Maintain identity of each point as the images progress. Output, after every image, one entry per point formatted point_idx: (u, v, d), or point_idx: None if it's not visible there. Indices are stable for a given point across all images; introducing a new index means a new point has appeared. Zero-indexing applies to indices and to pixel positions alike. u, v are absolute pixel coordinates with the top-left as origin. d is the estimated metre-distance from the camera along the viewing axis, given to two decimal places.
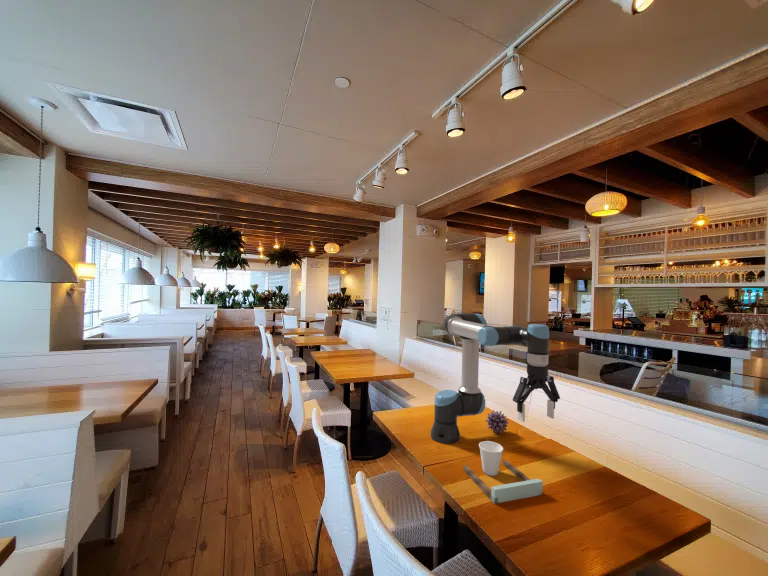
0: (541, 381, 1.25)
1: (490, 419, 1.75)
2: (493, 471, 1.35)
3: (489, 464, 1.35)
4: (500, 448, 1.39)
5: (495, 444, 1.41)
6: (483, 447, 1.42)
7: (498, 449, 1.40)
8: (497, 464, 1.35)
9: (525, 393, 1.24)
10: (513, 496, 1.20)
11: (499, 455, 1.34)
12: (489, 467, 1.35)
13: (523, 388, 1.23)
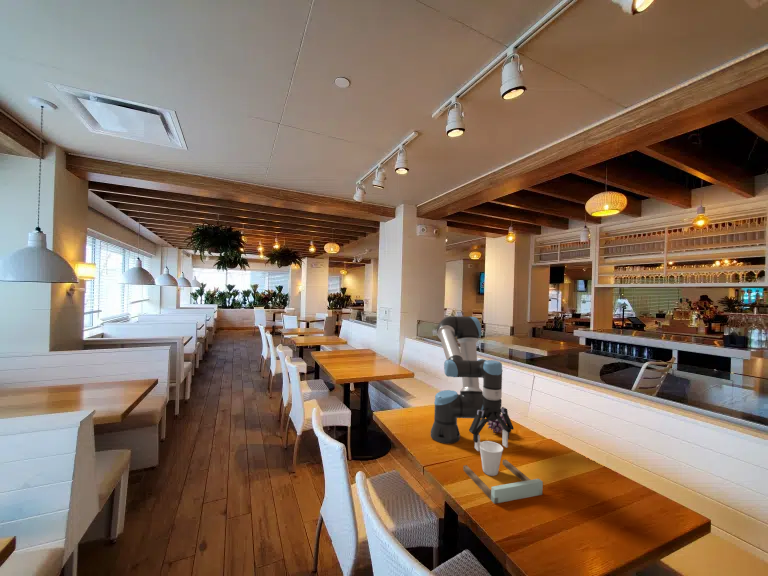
0: (495, 413, 1.36)
1: None
2: (493, 471, 1.35)
3: (489, 464, 1.35)
4: (500, 448, 1.39)
5: (495, 444, 1.41)
6: (483, 447, 1.42)
7: (498, 449, 1.40)
8: (497, 464, 1.35)
9: (480, 424, 1.35)
10: (513, 496, 1.20)
11: (499, 455, 1.34)
12: (489, 467, 1.35)
13: (478, 420, 1.34)
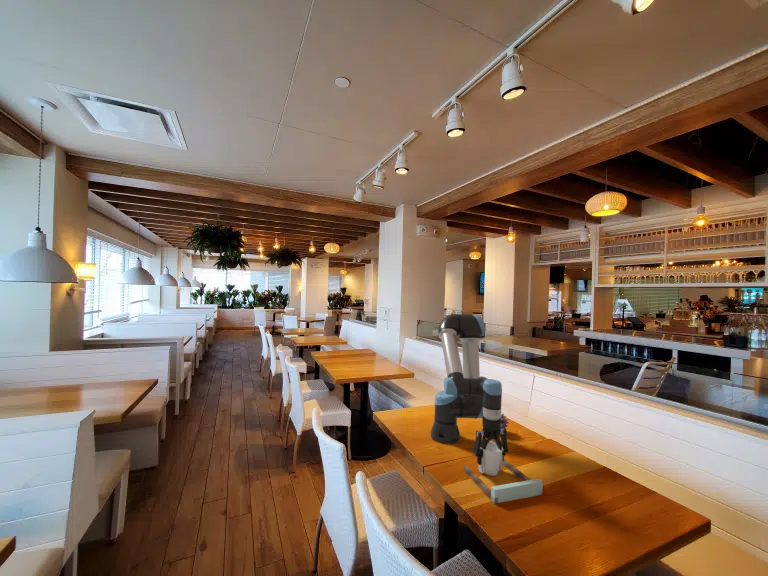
0: (495, 432, 1.37)
1: None
2: (493, 471, 1.35)
3: (489, 464, 1.35)
4: None
5: (495, 444, 1.41)
6: None
7: (498, 449, 1.40)
8: (497, 464, 1.35)
9: (482, 446, 1.36)
10: (513, 496, 1.20)
11: (499, 455, 1.34)
12: (489, 467, 1.35)
13: (479, 442, 1.35)
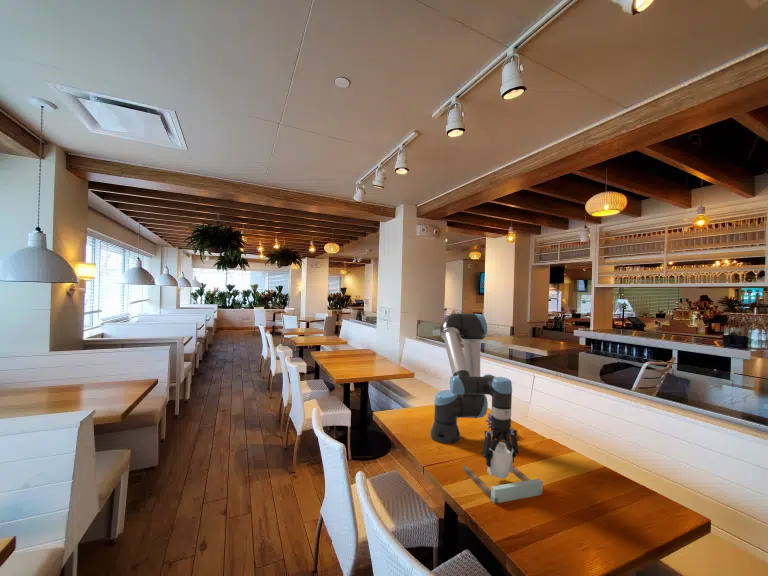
0: (504, 433, 1.30)
1: (490, 419, 1.75)
2: (503, 474, 1.28)
3: (499, 466, 1.28)
4: None
5: (505, 445, 1.35)
6: None
7: (508, 450, 1.33)
8: (507, 466, 1.28)
9: (492, 447, 1.30)
10: (513, 496, 1.20)
11: (509, 457, 1.28)
12: (499, 469, 1.28)
13: (488, 443, 1.29)
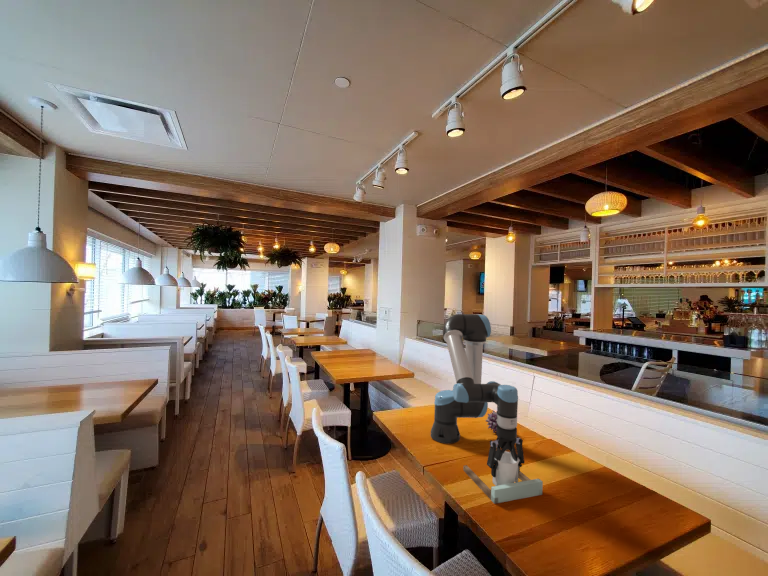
0: (510, 442, 1.27)
1: (490, 419, 1.75)
2: None
3: (504, 477, 1.25)
4: None
5: (510, 455, 1.32)
6: None
7: (513, 460, 1.30)
8: (513, 476, 1.25)
9: (497, 457, 1.27)
10: (513, 496, 1.20)
11: (515, 467, 1.25)
12: (504, 480, 1.25)
13: (494, 453, 1.25)
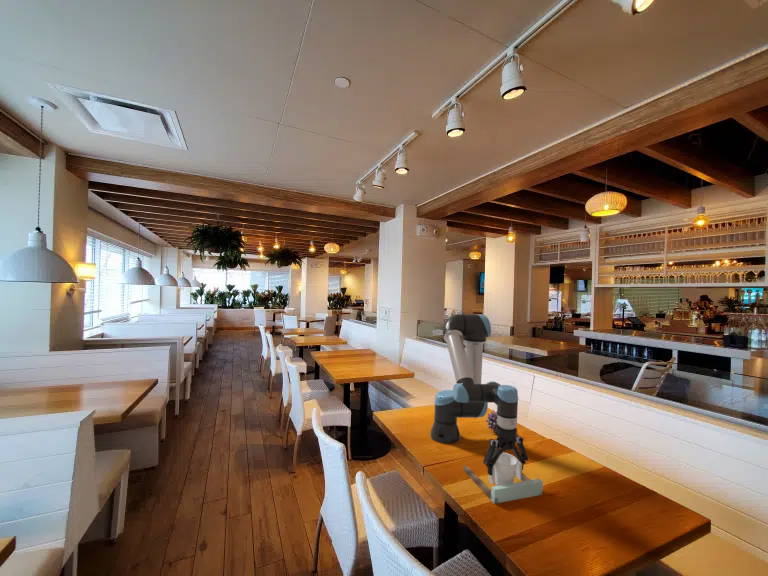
0: (510, 443, 1.27)
1: (490, 419, 1.75)
2: None
3: (503, 478, 1.25)
4: (514, 460, 1.29)
5: (509, 456, 1.32)
6: None
7: (512, 461, 1.30)
8: (512, 478, 1.25)
9: (495, 456, 1.26)
10: (513, 496, 1.20)
11: (514, 468, 1.25)
12: (503, 481, 1.25)
13: (492, 451, 1.25)
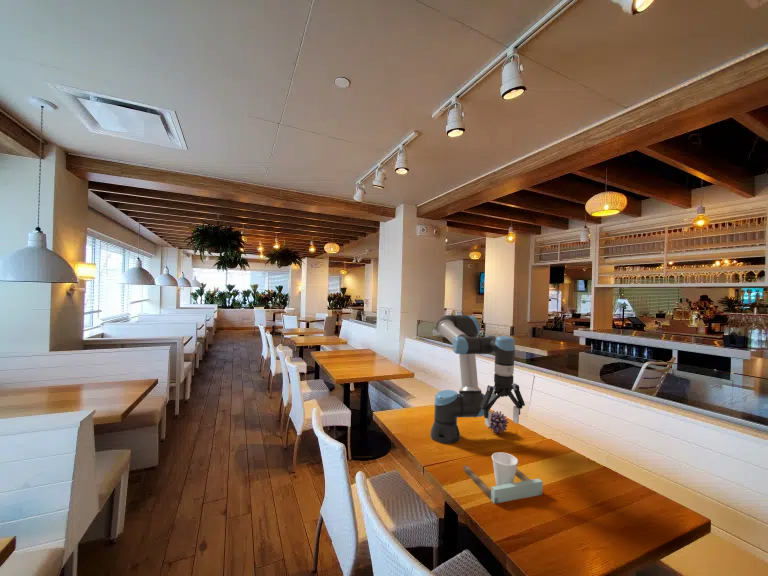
0: (507, 389, 1.34)
1: None
2: None
3: (503, 478, 1.25)
4: (514, 460, 1.29)
5: (509, 456, 1.32)
6: (496, 459, 1.32)
7: (512, 461, 1.30)
8: (512, 478, 1.25)
9: (491, 400, 1.33)
10: (513, 496, 1.20)
11: (514, 468, 1.25)
12: (503, 481, 1.25)
13: (489, 396, 1.32)
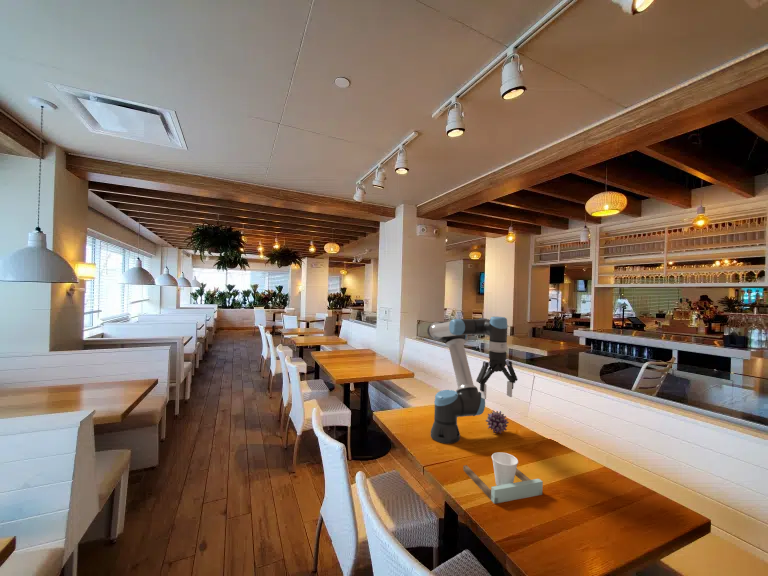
0: (500, 365, 1.46)
1: (490, 419, 1.75)
2: None
3: (503, 478, 1.25)
4: (514, 460, 1.29)
5: (509, 456, 1.32)
6: (496, 459, 1.32)
7: (512, 461, 1.30)
8: (512, 478, 1.25)
9: (487, 375, 1.46)
10: (513, 496, 1.20)
11: (514, 468, 1.25)
12: (503, 481, 1.25)
13: (485, 371, 1.45)
